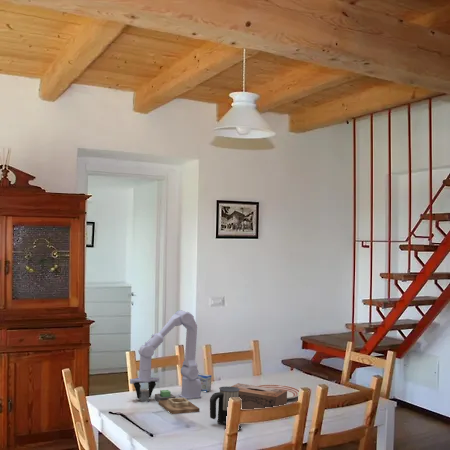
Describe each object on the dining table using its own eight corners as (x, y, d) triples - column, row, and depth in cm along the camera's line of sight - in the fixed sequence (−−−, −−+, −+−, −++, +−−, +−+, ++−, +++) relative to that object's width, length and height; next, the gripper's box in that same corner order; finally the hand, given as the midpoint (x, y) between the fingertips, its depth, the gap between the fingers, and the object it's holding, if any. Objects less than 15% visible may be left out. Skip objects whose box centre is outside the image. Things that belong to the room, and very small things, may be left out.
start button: (167, 394, 290) (167, 389, 290) (170, 396, 286) (170, 391, 286) (160, 395, 288) (160, 390, 288) (162, 397, 284) (162, 392, 284)
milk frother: (226, 418, 261) (227, 385, 262) (254, 426, 251) (255, 391, 252) (205, 424, 250) (207, 390, 251) (234, 433, 240) (235, 397, 241)
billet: (146, 399, 288) (146, 389, 288) (148, 401, 284) (149, 391, 285) (138, 399, 286) (139, 389, 287) (140, 401, 283) (141, 391, 283)
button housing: (169, 398, 292) (170, 393, 292) (175, 402, 285) (175, 396, 285) (154, 399, 289) (155, 394, 289) (159, 403, 282) (160, 398, 282)
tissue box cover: (286, 411, 277) (287, 390, 278) (275, 419, 264) (276, 396, 265) (237, 403, 289) (238, 383, 289) (224, 410, 276) (225, 388, 276)
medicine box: (194, 390, 310) (194, 374, 311) (198, 389, 314) (199, 372, 315) (207, 392, 307) (207, 376, 307) (211, 391, 311) (211, 374, 311)
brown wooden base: (185, 401, 286) (185, 394, 286) (199, 411, 270) (199, 404, 270) (158, 403, 280) (158, 396, 280) (170, 414, 264) (171, 406, 264)
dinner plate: (283, 406, 287) (283, 399, 287) (238, 396, 303) (238, 389, 303) (310, 396, 309) (310, 390, 309) (267, 387, 325) (267, 381, 325)
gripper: (156, 367, 293) (155, 394, 292) (128, 368, 287) (127, 396, 286) (161, 370, 286) (159, 398, 286) (132, 371, 280) (131, 400, 280)
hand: (143, 397), depth 286 cm, fingers open, 5 cm apart
